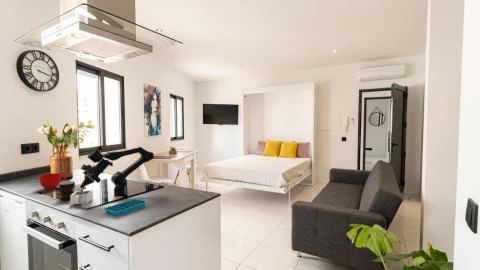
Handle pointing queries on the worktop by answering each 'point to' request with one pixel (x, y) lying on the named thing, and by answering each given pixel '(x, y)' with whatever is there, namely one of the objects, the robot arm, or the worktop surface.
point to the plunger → (81, 189)
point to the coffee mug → (66, 189)
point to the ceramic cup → (51, 180)
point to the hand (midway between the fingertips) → (80, 187)
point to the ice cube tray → (125, 207)
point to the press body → (81, 197)
